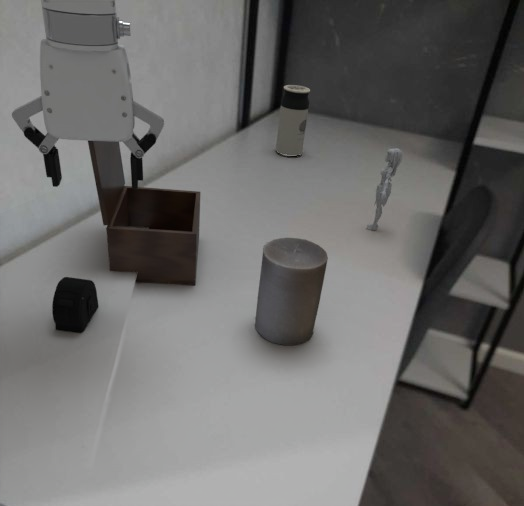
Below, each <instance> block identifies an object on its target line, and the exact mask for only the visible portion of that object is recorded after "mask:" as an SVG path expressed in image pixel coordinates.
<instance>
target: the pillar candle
mask: <svg viewBox="0 0 524 506" xmlns="http://www.w3.org/2000/svg"><path fill="white" fill-rule="evenodd" d="M328 259H329V257H328V253H327V251H326V250H325V249H324V248H323V247H322V246H320V245H319V244H318V243H315V242H313V241H312V240H311V241H310V240H308V239H304V238H298V237H280V238H275V239H272V240H270V241H266V243H265V244H263V247H262V257H261V265H260V275H259V283H258V284H259V285H258V290H257V291H258V293H257V300H256V301H257V302H256V311H255V318H254V321H255V322H254V328H255V330H256V332H258V333H259V335H260V336H262V337H263V338H264V339H265V340H267V341H268V342H271V343H274V344H277V345H280V346H281V345H282V346H294V345H299V344H303V343H305V342H307V341H309V340H310V339H311V338H312V337H313V335H314V329H315V324H316V320H317V315H318V311H319V306H320V301H321V296H322V291H323V286H324V280H325V275H326V271H327V266H328V265H327V264H328Z"/></svg>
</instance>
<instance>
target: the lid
mask: <svg viewBox="0 0 524 506" xmlns="http://www.w3.org/2000/svg"><path fill="white" fill-rule="evenodd" d="M87 144H88V150H89V155H90V160H91V166H92V172H93V177H94V182H95V183H94V184H95V187H96V191H97V199H98V203H99V209H100V214H101V220H102V224H103V225H102V226H107V225H109V222H110V220H111V217H112V215H113V212H114V210H115V207H116V205H117V202H118V200H119V197H120V195H121V192H122V190H123V187H124V186H126V185H125V184H126V179H125V173H124V167H123V159H122V153H121V144H120V142H108V141H87Z"/></svg>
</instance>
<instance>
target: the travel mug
mask: <svg viewBox="0 0 524 506" xmlns="http://www.w3.org/2000/svg"><path fill="white" fill-rule="evenodd" d="M283 89H284V90H283V91H284V94H283V96H282V97H281V100H280V110H279V116H278V117H279V120H278V126H277V134H276V145H275V152H276V151H278V152H279V153H282V154H287V155H299V154H301V153H302V154H303V149H304V143H305V135H306V127H307V121H308V115H309V108H310V100H309V94H310V92H311V89H310V88H308V87H307V86H304V85H296V84H287V85H284V86H283Z"/></svg>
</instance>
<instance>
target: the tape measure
mask: <svg viewBox="0 0 524 506" xmlns="http://www.w3.org/2000/svg"><path fill="white" fill-rule="evenodd" d="M96 287H97V286H96V284H95V282H94V281H93V280H91V279H85V278H77V277H71V276H64V277H62V278H61V279H60V280H59V281H58V283H57V285H56V286H55V290H54V293H53V298H52V307H51V308H52V309H51V310H52V312H51V313H52V319H53V322H54V325H55V331H60V332H67V333H76V334H82V333H84V331H86V329H87V327H88V325H89V323H90V322H91V320H92V318H93V317H94V315H95V314H96V312H97V310H98V309H99V307H100V306H99V299H98V292H97V291H98V290H97V288H96Z"/></svg>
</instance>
